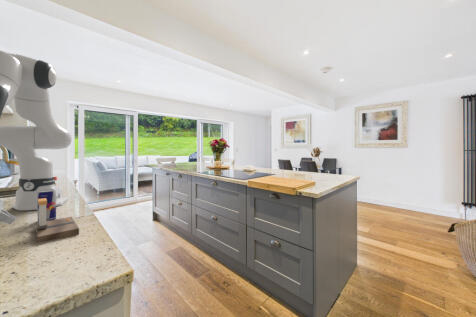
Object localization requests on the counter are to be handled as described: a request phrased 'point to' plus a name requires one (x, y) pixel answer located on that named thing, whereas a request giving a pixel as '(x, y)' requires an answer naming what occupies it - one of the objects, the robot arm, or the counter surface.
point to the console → (57, 229)
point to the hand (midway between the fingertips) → (13, 220)
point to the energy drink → (48, 203)
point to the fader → (42, 213)
